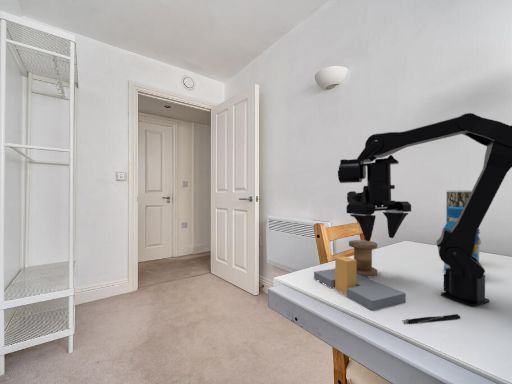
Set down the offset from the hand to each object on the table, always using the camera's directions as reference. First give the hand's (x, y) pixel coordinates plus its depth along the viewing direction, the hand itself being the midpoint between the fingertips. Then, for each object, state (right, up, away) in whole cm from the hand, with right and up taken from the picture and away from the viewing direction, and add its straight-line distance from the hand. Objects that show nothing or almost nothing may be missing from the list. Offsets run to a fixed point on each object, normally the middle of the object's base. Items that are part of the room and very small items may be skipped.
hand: (379, 239), depth 66 cm
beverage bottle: (+27, -12, +6) cm, 30 cm away
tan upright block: (-11, -12, -6) cm, 17 cm away
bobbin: (-1, -12, +8) cm, 14 cm away
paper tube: (+37, -12, +19) cm, 43 cm away
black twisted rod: (0, -12, -19) cm, 23 cm away
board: (-9, -12, -5) cm, 15 cm away
